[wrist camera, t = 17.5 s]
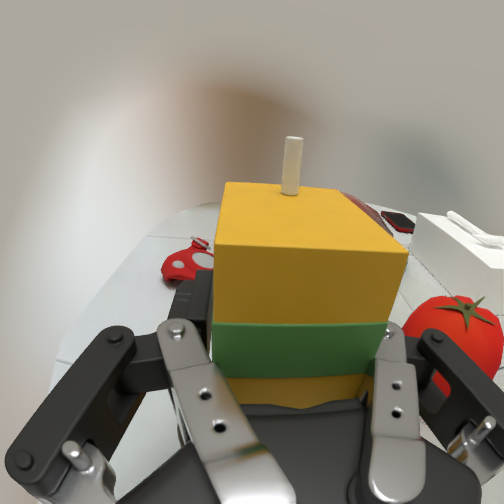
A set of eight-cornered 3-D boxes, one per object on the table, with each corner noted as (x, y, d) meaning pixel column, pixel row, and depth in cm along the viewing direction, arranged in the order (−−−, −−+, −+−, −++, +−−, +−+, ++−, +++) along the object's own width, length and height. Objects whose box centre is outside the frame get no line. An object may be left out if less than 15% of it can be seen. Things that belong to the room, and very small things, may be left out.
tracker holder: (243, 276, 43) (178, 277, 37) (232, 299, 45) (170, 303, 39) (209, 230, 51) (153, 225, 45) (201, 251, 53) (147, 249, 47)
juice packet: (217, 472, 11) (213, 143, 5) (220, 378, 16) (226, 130, 11) (318, 468, 11) (431, 169, 6) (300, 378, 17) (344, 141, 11)
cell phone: (398, 231, 70) (399, 228, 69) (379, 213, 83) (380, 210, 83) (423, 234, 69) (424, 231, 69) (402, 216, 83) (402, 213, 82)
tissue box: (470, 317, 37) (496, 253, 32) (408, 250, 60) (420, 201, 55) (518, 313, 37) (541, 258, 33) (456, 254, 60) (468, 210, 55)
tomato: (475, 365, 28) (511, 295, 23) (471, 435, 19) (530, 358, 14) (395, 337, 33) (421, 263, 29) (369, 401, 25) (409, 316, 20)
